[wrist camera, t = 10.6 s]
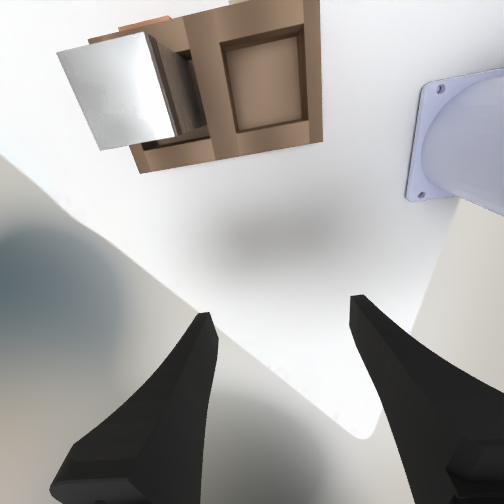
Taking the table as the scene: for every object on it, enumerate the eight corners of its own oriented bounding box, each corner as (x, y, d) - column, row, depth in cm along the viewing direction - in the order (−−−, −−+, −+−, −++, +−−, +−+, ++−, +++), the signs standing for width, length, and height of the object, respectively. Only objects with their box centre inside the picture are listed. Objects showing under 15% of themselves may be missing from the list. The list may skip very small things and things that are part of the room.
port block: (307, -2, 14) (318, -26, 12) (313, 136, 18) (322, 141, 15) (113, 44, 15) (84, 31, 13) (155, 164, 19) (140, 173, 16)
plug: (194, 64, 16) (143, 30, 9) (208, 124, 17) (175, 136, 10) (142, 75, 16) (55, 52, 9) (161, 133, 18) (99, 151, 11)
